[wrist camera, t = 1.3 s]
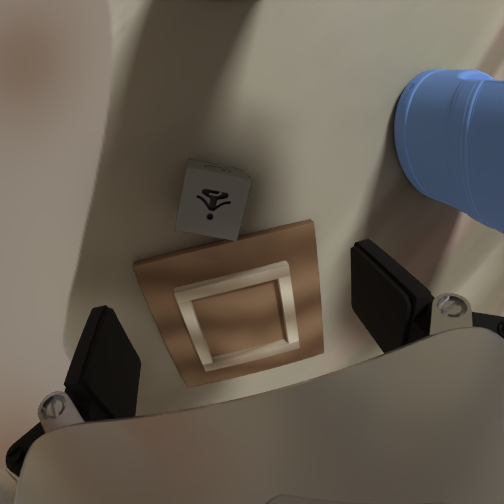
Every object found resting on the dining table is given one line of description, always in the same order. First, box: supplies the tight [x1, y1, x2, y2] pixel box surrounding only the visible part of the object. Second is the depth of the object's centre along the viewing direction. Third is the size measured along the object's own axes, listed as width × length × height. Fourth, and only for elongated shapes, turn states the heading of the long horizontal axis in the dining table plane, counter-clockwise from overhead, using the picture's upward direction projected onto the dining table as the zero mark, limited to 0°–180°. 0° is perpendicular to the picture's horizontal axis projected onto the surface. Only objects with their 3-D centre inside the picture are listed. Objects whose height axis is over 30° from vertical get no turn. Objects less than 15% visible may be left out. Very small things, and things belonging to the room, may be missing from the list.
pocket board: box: [133, 219, 324, 387], centre depth 33 cm, size 18×18×2 cm
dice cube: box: [175, 159, 252, 241], centre depth 25 cm, size 5×5×5 cm
